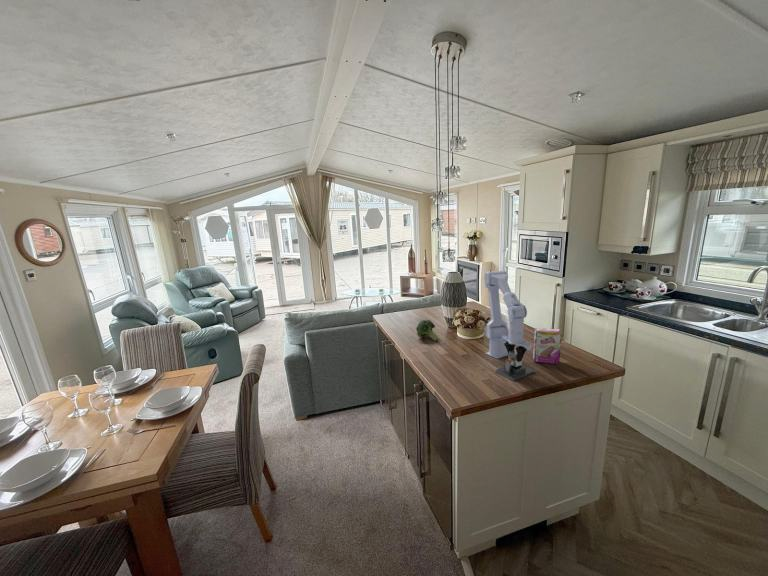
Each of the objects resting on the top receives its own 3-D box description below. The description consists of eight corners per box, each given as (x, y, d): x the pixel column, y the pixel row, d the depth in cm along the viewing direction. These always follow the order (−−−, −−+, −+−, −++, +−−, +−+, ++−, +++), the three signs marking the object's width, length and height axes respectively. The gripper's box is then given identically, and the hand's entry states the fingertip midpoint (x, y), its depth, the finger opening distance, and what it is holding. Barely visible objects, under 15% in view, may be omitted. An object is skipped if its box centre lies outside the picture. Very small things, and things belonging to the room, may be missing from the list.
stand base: (516, 364, 151) (516, 350, 150) (534, 372, 143) (535, 358, 141) (495, 372, 145) (495, 357, 144) (513, 381, 136) (513, 366, 135)
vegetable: (426, 341, 180) (409, 325, 189) (431, 349, 190) (414, 334, 199) (441, 327, 181) (424, 312, 190) (445, 336, 192) (428, 321, 200)
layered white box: (514, 361, 146) (514, 349, 144) (521, 364, 142) (522, 352, 141) (507, 364, 144) (508, 351, 142) (514, 367, 140) (515, 354, 139)
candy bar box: (534, 362, 152) (535, 330, 149) (532, 358, 157) (534, 327, 153) (559, 364, 148) (562, 332, 145) (557, 360, 153) (560, 328, 150)
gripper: (497, 328, 144) (496, 356, 147) (524, 338, 132) (523, 367, 135) (507, 325, 147) (507, 352, 150) (535, 334, 135) (533, 363, 138)
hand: (515, 359), depth 143 cm, fingers closed on layered white box, 4 cm apart
